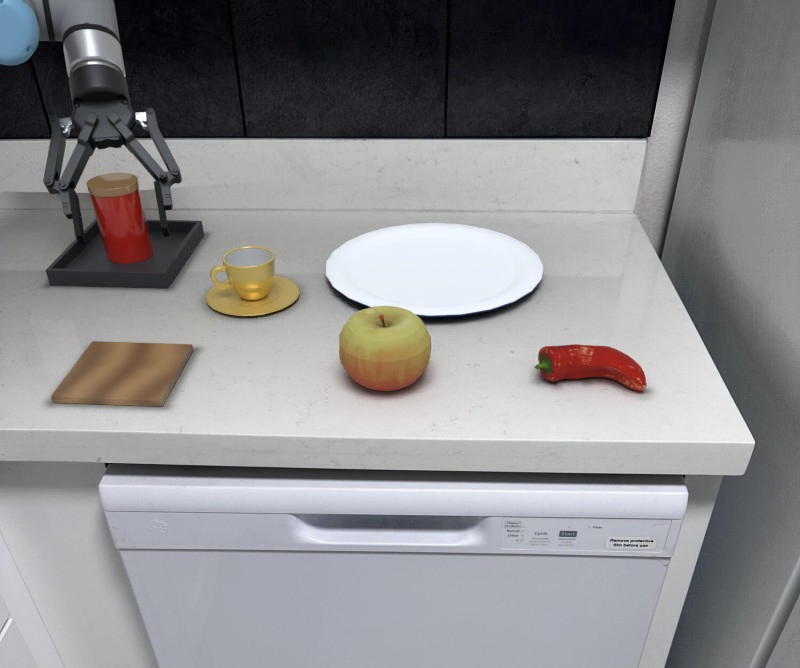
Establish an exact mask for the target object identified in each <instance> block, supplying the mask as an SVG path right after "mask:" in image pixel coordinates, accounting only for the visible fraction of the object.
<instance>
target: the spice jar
mask: <svg viewBox="0 0 800 668" xmlns="http://www.w3.org/2000/svg"><path fill="white" fill-rule="evenodd" d="M86 187H87V191H88V193H89V196H90V200H91V204H92V207H93V211H94V214H95V219H97V222H98V226H99V230H100V233H101V237H102V241H103V245H104V248H105V252H106V256H107V259H108V260H109V261H111V262H114V263H119V264H130V263H136V262H140V261H143V260H146V259H148V258H149V257H151V256H152V255H153V247H152V242H151V238H150V234H149V229H148V225H147V220H148V219H147V216H146V212H145V208H144V202H143V198H142V194H141V190H140V182H139V177H138V176H137V175H136V174H133V173H129V172H108V173H103V174H99V175H96V176H93V177H91V178H89V179H88V180H87V181H86Z"/></svg>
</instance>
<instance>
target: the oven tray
mask: <svg viewBox="0 0 800 668" xmlns="http://www.w3.org/2000/svg"><path fill="white" fill-rule="evenodd" d="M146 220H147V225H148V229H149V234H150V238H151V242H152V247H153V255H152V256H151V257H149V258H148V259H146V260H143V261H140V262H136V263H130V264H119V263H114V262H111V261H109V260H108V259H107V256H106V252H105V248H104V245H103V241H102V237H101V233H100V230H99V226H98V222H97V218H95V219H93V220H92V222H91V223H90V224H89V225H88V226H87V227H85V229H84V234H85V241H86V245H80V244H79V242H78V240H77V238H76V237H75V239H74V240H73V241H72V242H71V243H70V244H69V245H68V246H67V247H66V248H65V249H64V251H62V252H61V253H60V255H58V256H57V257H56V259H55V260H54V261H53V262H52V263H51V264H50V265H49V266H48V267H46V269H45V270H44V271H45V274H46V276H47V280H48V283H49V286H61V287H63V286H65V287H67V286H70V287H101V288H105V287H106V288H139V289H140V288H142V289H143V288H145V289H169V288H170V286H171V285H172V284H173V282H174V281H175V279H176V277H177V276H178V274H179V273H180V271H181V270H182V269H183V267H184V266H185V264H186V262H187V261H188V259H189V258H190V256H191V255H192V254H193V252H194V251H195V249H196V248H197V246H198V245H199V243H200V242H201V240H202V239H203V237H204V236H205V232H204V226H203V221H202V220H191V219H189V220H187V219H167V224H168V230H169V236H167V237H164V235H163V232H162V229H161V224H160V219H146Z"/></svg>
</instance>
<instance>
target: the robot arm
mask: <svg viewBox="0 0 800 668" xmlns="http://www.w3.org/2000/svg"><path fill="white" fill-rule="evenodd" d="M119 31H120V30H119V25H118V18H117V13H116V5H115V0H0V65H4V66H19V65H21V64H23V63H25V62H27V61H28V60H29V59H30V58H31V57H32V55H33V54H34V53H35V52H36V50H37V49H38V46H39V44H40V43H39V42H47V41H48V42H62V46H63V54H64V61H65V67H66V73H67V76H68V85H69V91H70V98H71V103H72V113H71V115H70V116H68V117H59V116H58V115H57V114H51V115H50V116H49V124H50V128H51V134H50V139H49V140H50V141H49V146H48V150H47V157H46V163H45V168H44V174H43V180H42V182H43V184H44V186H45V188H46V190H47V191H48V193H49V194H50V195H59V196H60V201H61V207H62V211H63V212H62V213H64V216H65V217H66V219H67V220H72V224H73V229H74V236H75V239H76V238H77V240H78V242H79V244H80V245H86V241H85V234H84V230H85V229H84V221H83V216H82V211H81V204H80V198H79V196H78V194H77V192H76V188H77V186H78V184H79V181H80V179H81V178H82V175H83V173H84V170H85V168H86V166H87V164H88V162H89V161H90V158H91V157H92V156H93V155H94V153H95V151H96V149H97V150H105V149H108V148H112V149H121V148H122V146H124V147H125V148H126V150H128V152H130V154H132V155H133V157H135V158H136V160H137V161H138V162H139V163H140V164H141V165H142V166H143V168H144V169H145V170H146V171H147V172H148V173H149V175H150V176H151V177H152V178H153V179H154V181H153V187H154V193H155V199H156V204H157V205H156V206H157V211H158V217H159V220H160V224H161V229H162V232H163V235H164V237H167V236H169V230H168V224H167V220H168V219H167V213H166V211H173V207H174V203H173V197H172V191H171V187H172V186H173V185H175V184H177V185H179V184H181V183H182V181H183V177H182V173H181V169H180V167H179V165H178V163H177V161H176V159H175V158H174V155H173V153H172V152H171V149H170V147H169V146H168V144H167V142H166V140H165V138H164V136H163V134H162V132H161V131H160V128H159V125H158V120H157V115H156V112H155V109H154V108H153V107H146V109H145V111H139V112H136V111H135V110H134V109H133V108H132V103H131V98H130V93H129V92H130V91H129V87H128V85H129V84H128V81H127V78H126V76H127V75H126V67H125V62H124V56H123V50H122V45H121V39H120V32H119ZM137 124H139V125H141V127H142V129H143V130H144V131H146V132H148V133H149V135H150V139H151V140H152V142H153V144H154V146H155V148H156V150H157V152H158V154H159V156H160V158H161V159H162V161H163V163H164V166H165V168H166V169H167V171H166V170H164V169H163V168H162V167H161V166H160V165H159V163H158V162H157V161H156V160H155V159H154V158H153V156H152V155H151V154H150V153H149V152H148V151H147V150H146V149H145V147H144V146H143V145H142V144H141V143H140V141H139V140H138V139H137V138H136V136H135V134H134V132H133V131H134V130H135V129H136V126H137ZM72 129H74V130H76V132H77V133H79V134H78V136H77V139H76V141H77V142H76V144H75V147H74V149H73V151H72V153H71V156H70V157H69V160H68V162H67V164H66V166H65V168H64V171H63V172H62V168H63V163H64V158H65V152H66V146H67V145H66V144H67V139H66V138H69V136H70V133H71V130H72ZM61 174H62V175H61Z"/></svg>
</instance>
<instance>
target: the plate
mask: <svg viewBox="0 0 800 668" xmlns="http://www.w3.org/2000/svg"><path fill="white" fill-rule="evenodd" d="M543 272H544V265H543V262H542V259H541V258H540V256H539V254H538V253H536V252H535V251H534V250H533V249H532V248H531V247H529V246H528V245H527V244H526V243H524V242H522V241H520V240H518V239H516V238H514V237H512V236H510V235H508V234H505V233H502V232H499V231H495V230H492V229H488V228H485V227H480V226H474V225H467V224H460V223H448V222H447V223H446V222H445V223H443V222H425V223H424V222H423V223H421V222H420V223H408V224H400V225H393V226H386V227H382V228H380V229H375V230H372V231H368V232H365V233H362V234H360V235H359V236H356V237H353V238H351V239H349V240H347V241H345V242H343V243H342V244H341V245H340V246H339V247H337V248H336V249H335V250H333V251H332V252H331V254H330V255H329V257H328V259H327V260H326V261H325V277H326V279H327V280H328V282H329V284H330V285H331V287H332V288H333V289H334V290H335V291H337V292H338V293H339V294H341V295H342V296H343V297H345V298H346V299H348V300H350V301H352V302H355V303H357V304H360V305H362V306H364V307H366V308H371V307H375V306H393V307H400V308H403V309H406V310H409V311H411V312H412V313H414V314H415V315H417V316H418V317H420V318H421V317H423V318H443V317H463V316H469V315H475V314H481V313H486V312H491V311H493V310H496V309H499V308H502V307H506V306H508V305H513V304H514V303H517V302H518V301H519V300H521V299H522V298H524V297H527V296H528V295H530V294H531V293H532V292H533V291H534V290H535V289H536V288H537V286H538V285H539V284H540V283H541V281H542V279H543Z"/></svg>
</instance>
